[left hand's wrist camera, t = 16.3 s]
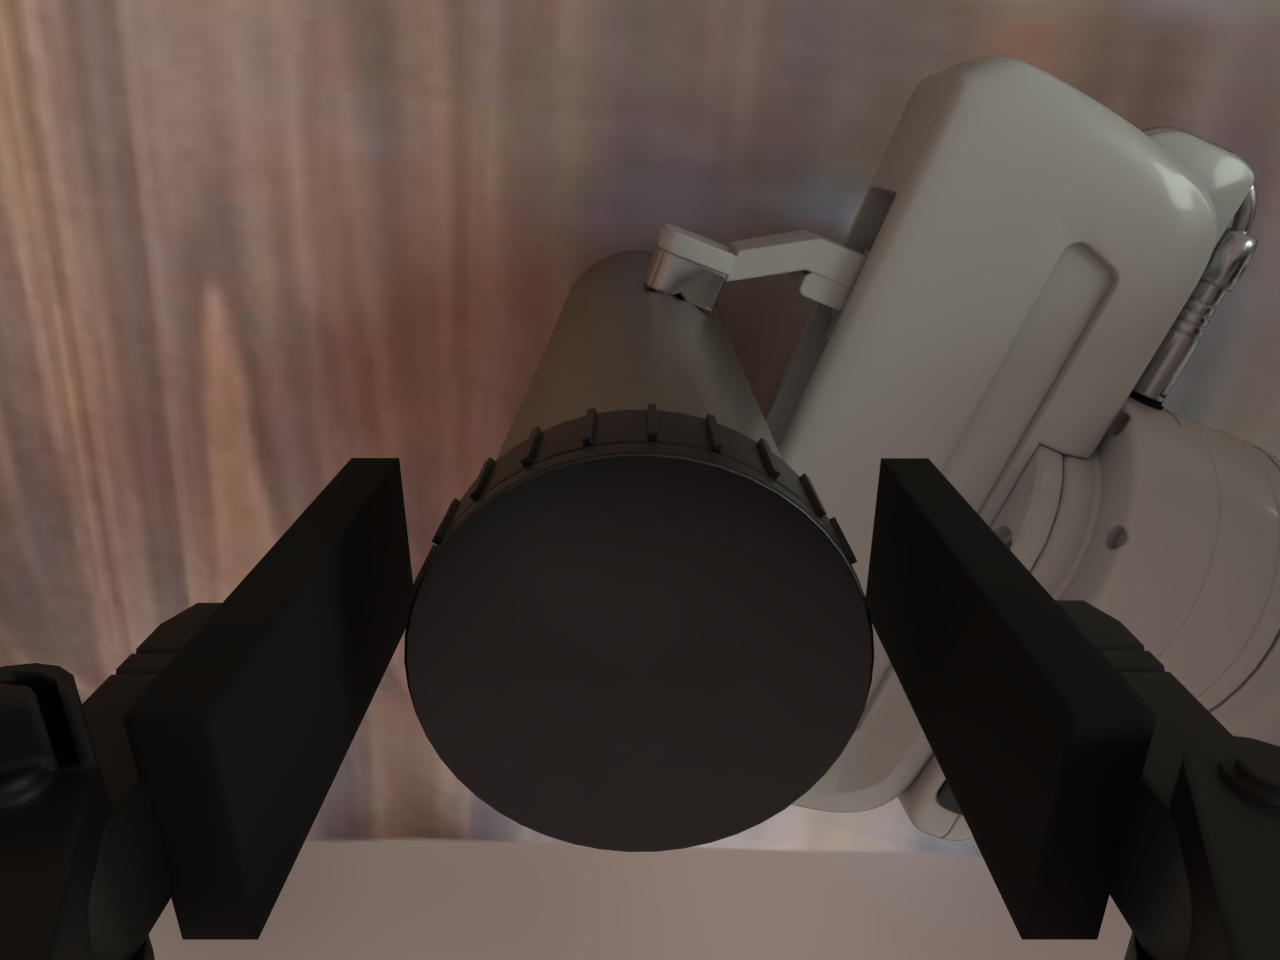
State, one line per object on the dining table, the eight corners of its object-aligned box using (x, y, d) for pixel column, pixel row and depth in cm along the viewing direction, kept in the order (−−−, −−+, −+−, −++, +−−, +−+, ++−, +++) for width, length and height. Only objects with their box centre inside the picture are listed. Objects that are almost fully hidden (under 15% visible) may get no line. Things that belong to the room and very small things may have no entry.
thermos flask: (732, 265, 28) (891, 490, 10) (701, 417, 30) (789, 825, 12) (573, 237, 28) (456, 419, 10) (551, 392, 30) (420, 775, 12)
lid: (395, 420, 11) (354, 467, 9) (851, 386, 11) (887, 429, 9) (464, 782, 13) (440, 869, 12) (846, 758, 13) (874, 843, 11)
